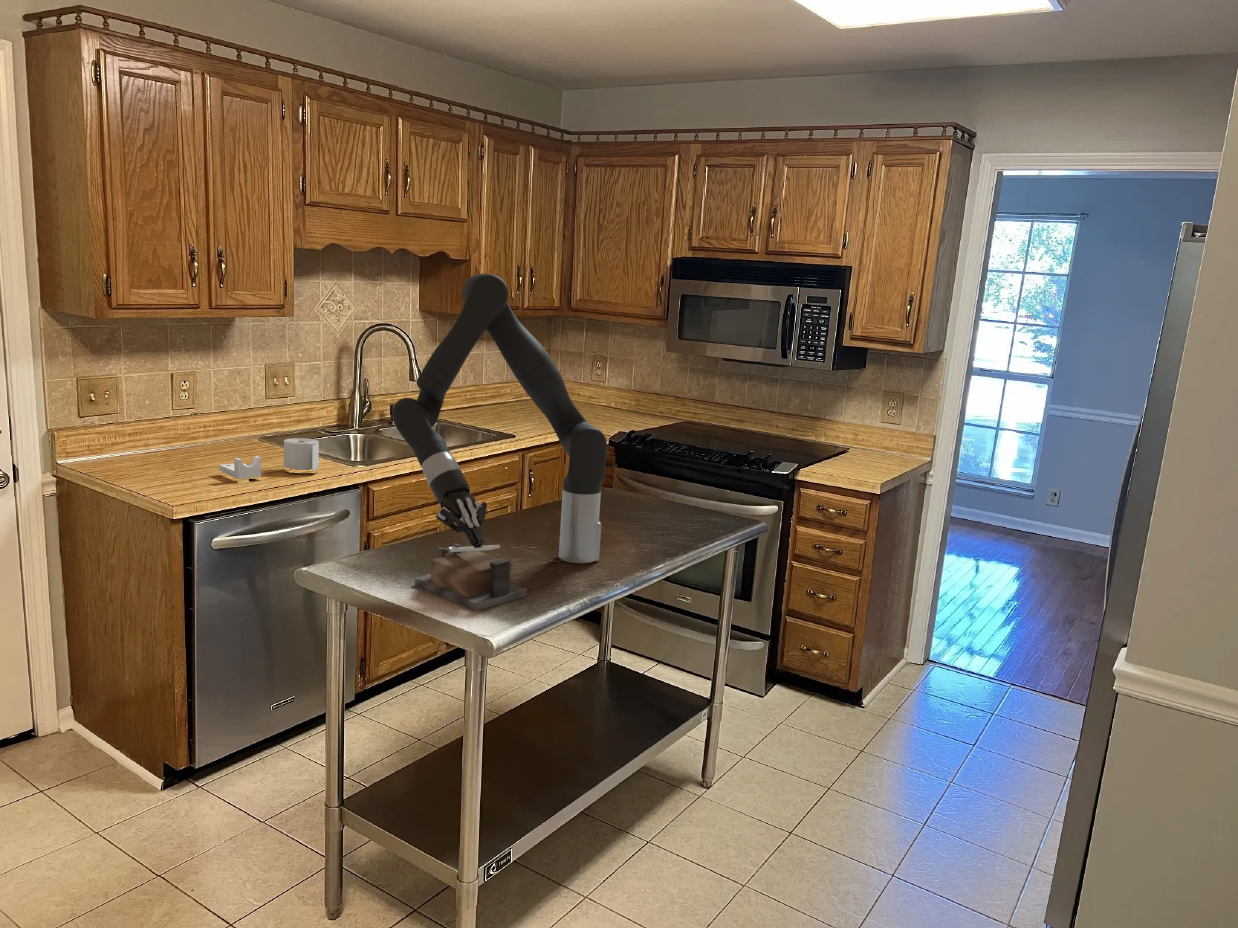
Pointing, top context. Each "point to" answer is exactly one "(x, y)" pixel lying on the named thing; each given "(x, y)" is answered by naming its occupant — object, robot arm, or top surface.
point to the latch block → (471, 579)
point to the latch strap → (470, 548)
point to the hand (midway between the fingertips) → (479, 545)
